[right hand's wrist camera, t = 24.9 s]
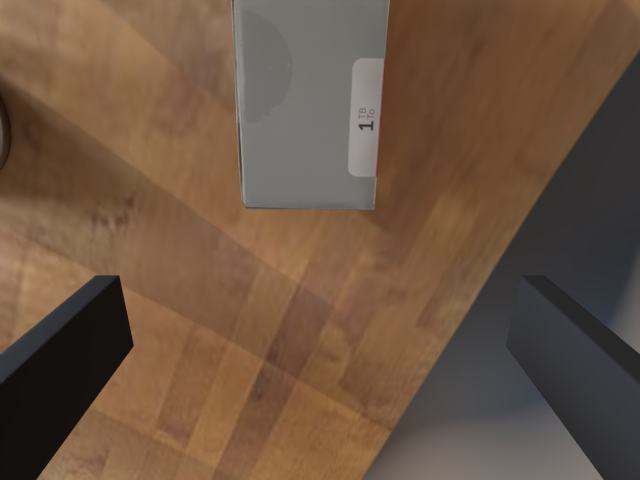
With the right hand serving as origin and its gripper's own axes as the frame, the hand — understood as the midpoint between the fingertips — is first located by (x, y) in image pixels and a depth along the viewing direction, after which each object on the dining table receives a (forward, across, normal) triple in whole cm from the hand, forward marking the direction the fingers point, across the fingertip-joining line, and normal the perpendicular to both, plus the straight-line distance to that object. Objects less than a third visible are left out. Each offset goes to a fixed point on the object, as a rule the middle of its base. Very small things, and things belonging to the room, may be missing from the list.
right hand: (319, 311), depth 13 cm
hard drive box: (+29, -1, +8) cm, 30 cm away
